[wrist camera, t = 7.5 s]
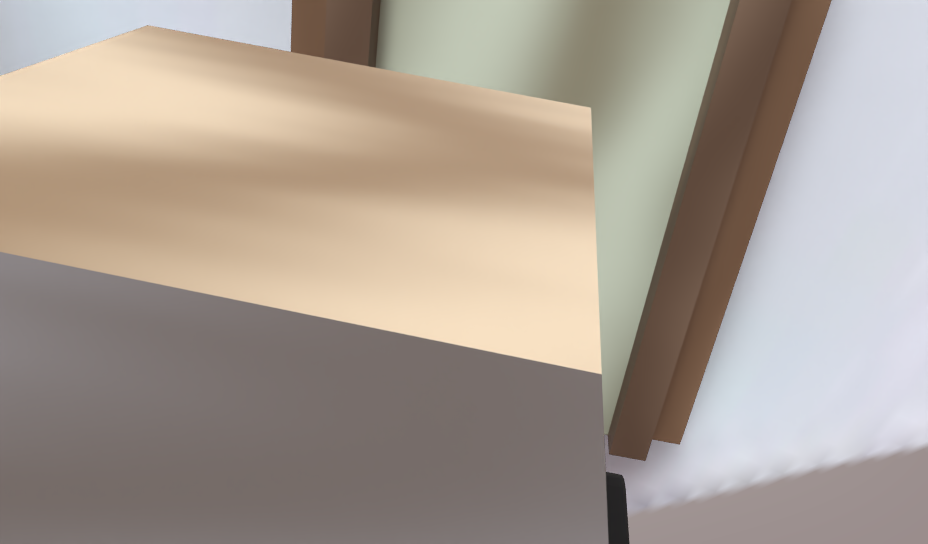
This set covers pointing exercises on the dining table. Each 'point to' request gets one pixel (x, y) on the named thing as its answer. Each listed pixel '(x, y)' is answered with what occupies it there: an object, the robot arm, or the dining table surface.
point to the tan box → (293, 304)
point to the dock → (625, 148)
